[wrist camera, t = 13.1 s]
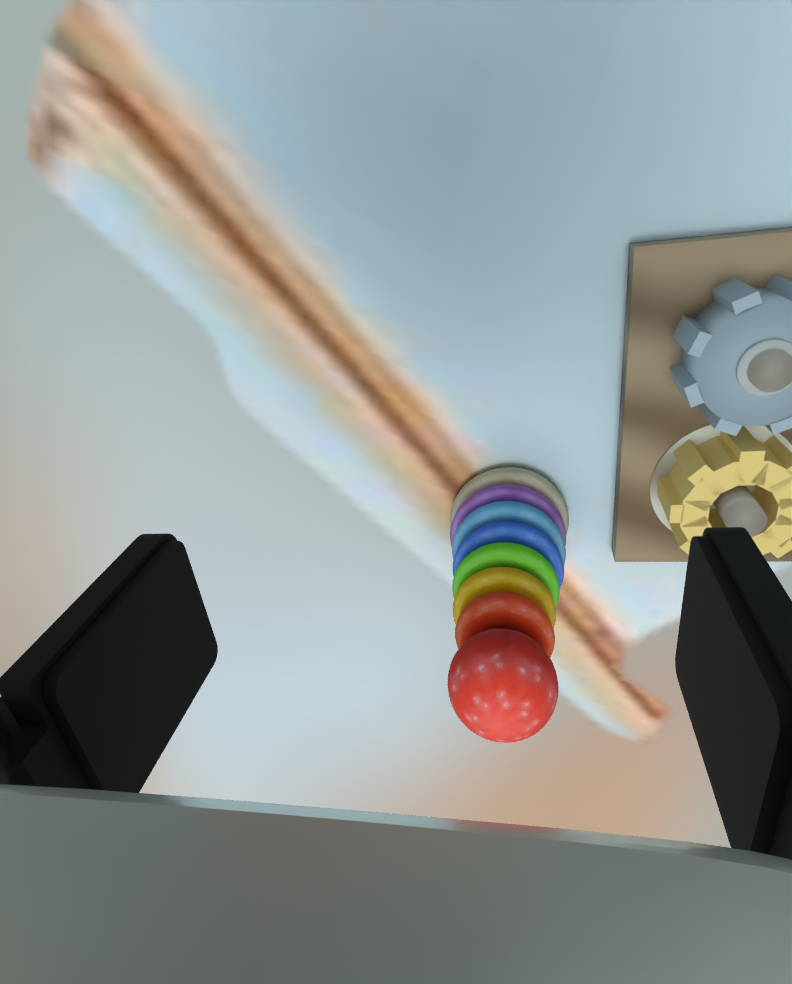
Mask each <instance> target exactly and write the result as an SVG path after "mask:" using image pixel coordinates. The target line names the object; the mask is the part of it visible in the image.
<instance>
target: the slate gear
mask: <svg viewBox="0 0 792 984" xmlns="http://www.w3.org/2000/svg"><path fill="white" fill-rule="evenodd" d="M711 290H712V293H713V296H714V299H715V300H714V301H713V302H711V303H710V304H709V305H708V306H706V307H705V308H704V309H703V310H702V311H701V312H700V313H699V314H698V315H697V316H696V318H695V319H693V318H690V317H687V316H684V315H683V316H682V318H681V320H680V321H679V323H678V325H677V327H676V329H675V331H674V333H673V335H672V337H673V338H674V339H675V340H676V341H677V342H678V344H679V345H680V346H681V358H680V359H681V363H679V364H676V365H674V366H672V367H669V369H670V372H671V375H672V377H673V380H674V383H675V386H676V387H677V389H678V390H679V391H680V393H681V394H682V396H683V397H684V398H685V400H686V401H687V403H688V404H689V405H690V407H691V408H692V407H694V406H698V408H699V409H700V410H701V412H702V413H703V414H704V416H705V417H706V419H707V420H708V421H709V423H710V424H711V425H712V427H713V428H714V429H715V430H718V431H722V432H725V433H728V434H731V435H734V436H736V435H737V434H738V432H739V431H740V429H741V427H742V426H743V425H745V426H761V425H765V426H766V427H767V428H768V430H769V431H770V432H771V433H772V434H773V435H774V434H777V433H780V432H782V431H785V430H788V429H791V428H792V382H791V383H790V384H789V385H788V386H786V387H785V388H783V389H781V390H779V391H776V392H763V391H760V390H758V389H757V388H756V387H755V386H753V385H752V384H751V383H750V381H749V380H748V377H747V369H748V366H749V363H750V362H751V360H752V359H753V358H754V357H755V356H756V355H758V354H759V353H761V352H763V351H765V350H769V349H780V350H783V351H785V352H786V353H788V354H789V355H791V356H792V281H791V280H788V279H785V278H782V277H779V276H776V275H773V276H772V277H771V279H770V281H769V283H768V284H767V286H766V287H751V286H749V285H747V284H746V283H744V282H742V281H740V280H738V279H736V278H734V279H731V280H729V281H727V282H725V283H723V284H721V285H718V286H716V287H714V288H712V289H711Z"/></svg>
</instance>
